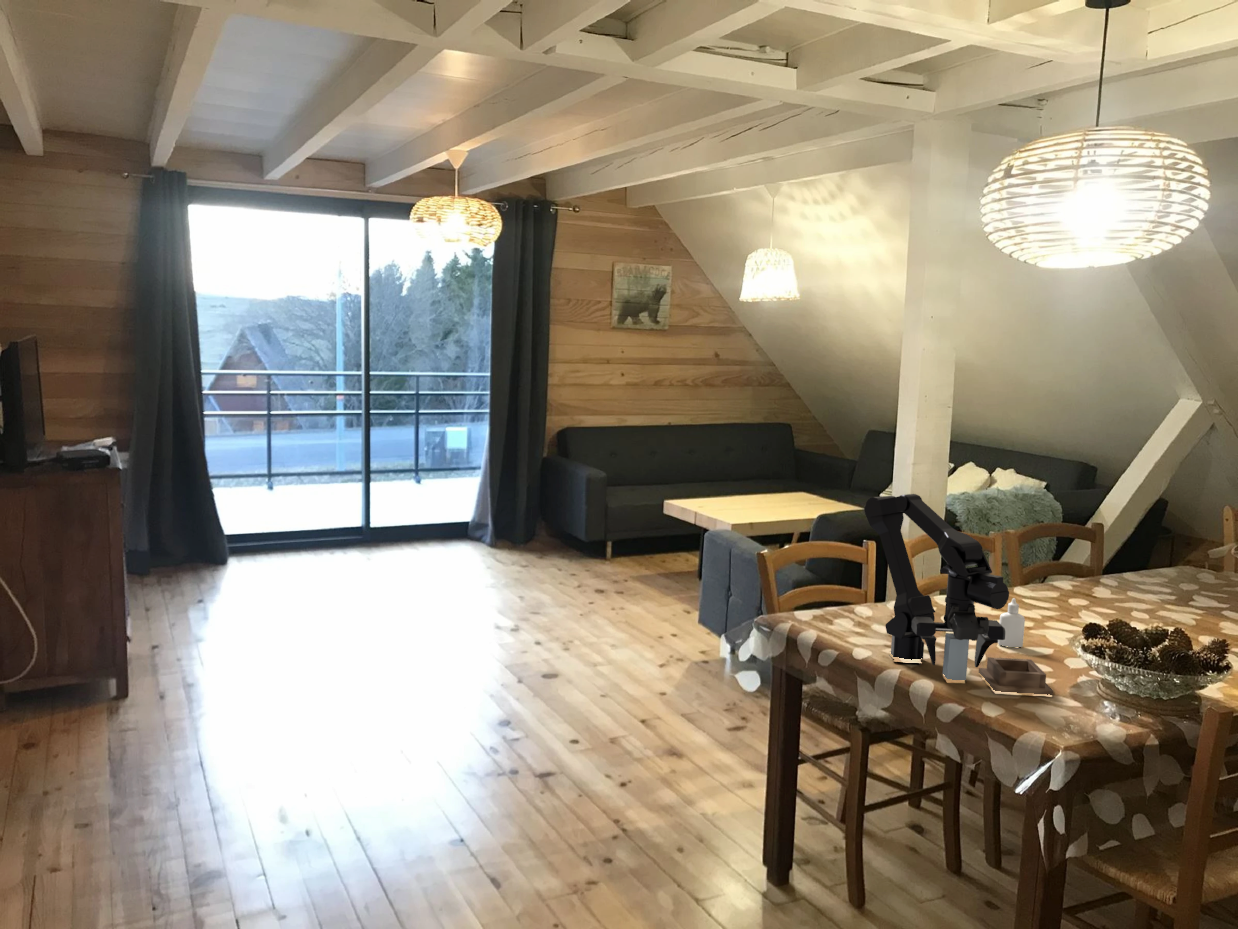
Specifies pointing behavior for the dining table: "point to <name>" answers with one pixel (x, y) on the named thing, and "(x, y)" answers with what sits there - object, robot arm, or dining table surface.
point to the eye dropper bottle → (1012, 626)
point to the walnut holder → (1015, 676)
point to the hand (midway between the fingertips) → (954, 665)
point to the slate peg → (955, 657)
